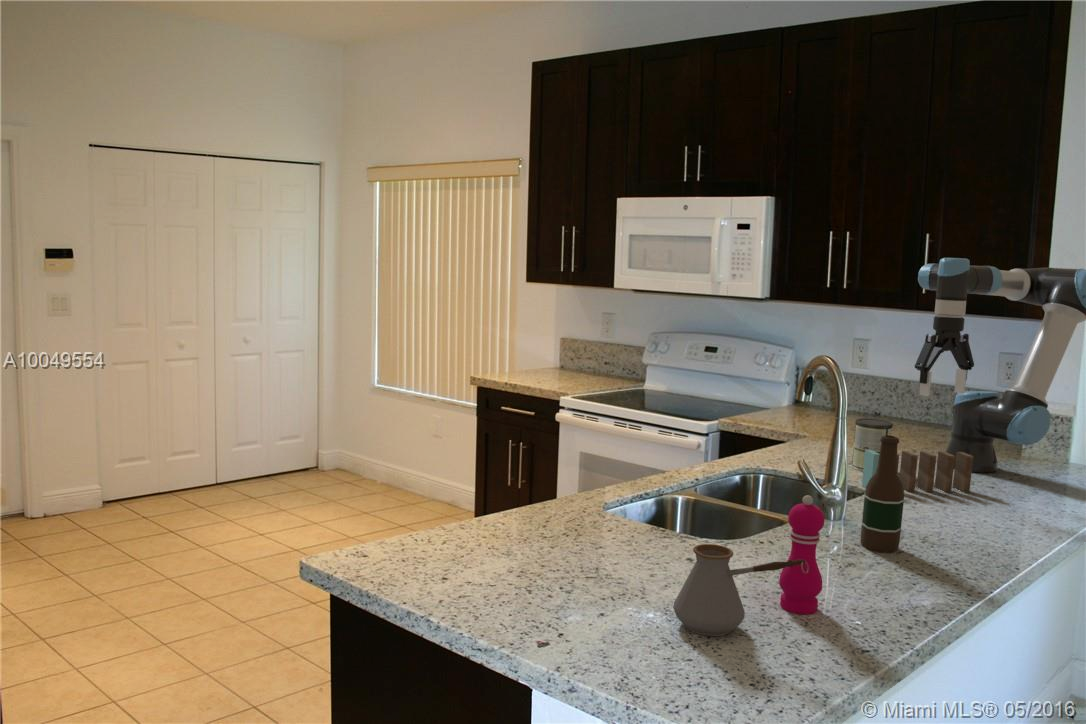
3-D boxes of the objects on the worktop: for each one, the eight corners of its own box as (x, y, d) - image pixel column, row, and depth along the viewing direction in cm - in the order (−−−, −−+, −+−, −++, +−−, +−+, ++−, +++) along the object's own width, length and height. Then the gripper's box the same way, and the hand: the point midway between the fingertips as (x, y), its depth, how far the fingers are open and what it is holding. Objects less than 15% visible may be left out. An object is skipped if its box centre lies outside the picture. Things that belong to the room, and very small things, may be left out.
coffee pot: (659, 627, 147) (665, 537, 145) (692, 606, 156) (698, 522, 155) (785, 668, 135) (794, 570, 133) (813, 643, 144) (821, 551, 142)
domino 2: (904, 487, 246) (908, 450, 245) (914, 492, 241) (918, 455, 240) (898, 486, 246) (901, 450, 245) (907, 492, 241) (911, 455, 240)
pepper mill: (771, 599, 162) (780, 489, 159) (810, 599, 162) (820, 490, 160) (785, 615, 154) (795, 501, 152) (826, 616, 155) (837, 502, 152)
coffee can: (847, 463, 271) (851, 417, 269) (883, 466, 270) (887, 419, 268) (855, 472, 261) (860, 423, 259) (892, 474, 260) (897, 426, 258)
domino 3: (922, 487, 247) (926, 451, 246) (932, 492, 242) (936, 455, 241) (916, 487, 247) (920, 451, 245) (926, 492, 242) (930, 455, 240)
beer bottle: (898, 544, 196) (909, 435, 193) (899, 555, 189) (911, 442, 186) (859, 539, 198) (870, 431, 195) (859, 549, 191) (870, 437, 188)
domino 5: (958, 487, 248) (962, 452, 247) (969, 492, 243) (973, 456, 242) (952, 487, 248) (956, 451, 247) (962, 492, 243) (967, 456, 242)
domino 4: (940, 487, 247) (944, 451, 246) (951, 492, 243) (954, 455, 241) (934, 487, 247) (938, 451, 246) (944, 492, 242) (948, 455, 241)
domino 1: (868, 486, 245) (871, 450, 244) (876, 491, 240) (880, 454, 239) (861, 486, 245) (865, 449, 243) (870, 491, 240) (874, 454, 238)
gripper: (969, 314, 252) (962, 389, 255) (904, 315, 241) (897, 394, 244) (993, 316, 246) (985, 394, 248) (928, 317, 234) (920, 399, 237)
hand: (942, 394), depth 246 cm, fingers open, 13 cm apart
